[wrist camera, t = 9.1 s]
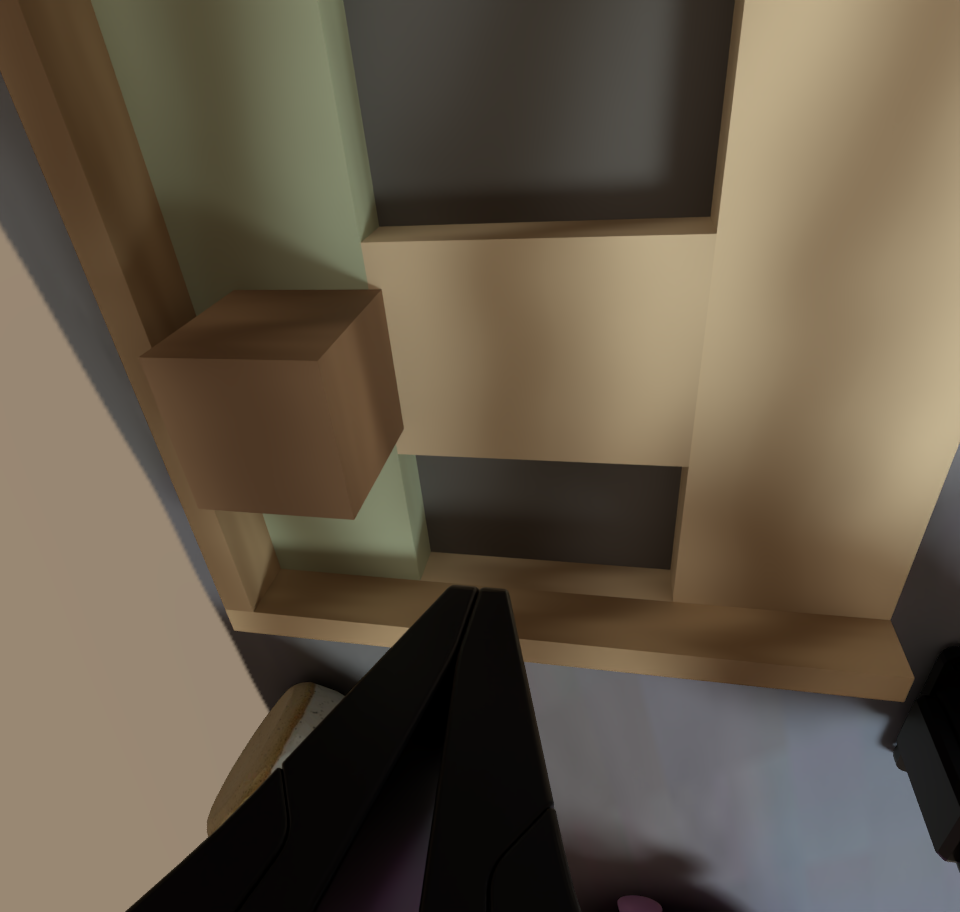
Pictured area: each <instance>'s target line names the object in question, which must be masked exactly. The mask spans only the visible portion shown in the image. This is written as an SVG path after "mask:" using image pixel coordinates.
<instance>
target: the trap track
mask: <svg viewBox="0 0 960 912" xmlns="http://www.w3.org/2000/svg"><path fill="white" fill-rule="evenodd" d="M0 71H1V74H2V76H3V79H4V81H5V83H6V86H7V88H8V91H9V93H10V95H11V98H12V100H13V103H14V105H15V107H16V110H17V112H18V115H19V117H20V119H21V122H22V124H23V126H24V129H25V131H26V134H27V136H28V138H29V141H30V143H31V146H32V148H33V150H34V153H35V155H36V158H37V160H38V162H39V165H40V167H41V170H42V172H43V174H44V177H45V179H46V182H47V184H48V186H49V189H50V191H51V193H52V196H53V198H54V201H55V203H56V205H57V208H58V210H59V213H60V215H61V217H62V220H63V222H64V225H65V227H66V229H67V232H68V234H69V237H70V239H71V241H72V244H73V246H74V248H75V251H76V253H77V256H78V258H79V260H80V263H81V265H82V268H83V270H84V272H85V275H86V277H87V280H88V282H89V284H90V287H91V289H92V292H93V294H94V296H95V299H96V301H97V304H98V306H99V308H100V311H101V313H102V315H103V318H104V320H105V323H106V325H107V327H108V330H109V332H110V335H111V337H112V339H113V342H114V344H115V347H116V349H117V351H118V354H119V356H120V359H121V361H122V363H123V366H124V368H125V370H126V373H127V375H128V378H129V380H130V382H131V385H132V387H133V390H134V392H135V394H136V397H137V399H138V402H139V404H140V406H141V409H142V411H143V414H144V416H145V418H146V421H147V423H148V426H149V428H150V430H151V433H152V435H153V437H154V440H155V442H156V445H157V447H158V449H159V452H160V454H161V457H162V459H163V461H164V464H165V466H166V469H167V471H168V473H169V476H170V478H171V481H172V483H173V485H174V488H175V490H176V492H177V495H178V497H179V500H180V502H181V504H182V507H183V509H184V512H185V514H186V516H187V519H188V521H189V524H190V526H191V528H192V531H193V533H194V536H195V538H196V540H197V543H198V545H199V547H200V550H201V552H202V555H203V557H204V559H205V562H206V564H207V567H208V569H209V571H210V574H211V576H212V579H213V581H214V583H215V586H216V588H217V591H218V593H219V595H220V598H221V600H222V603H223V605H224V607H225V610H226V612H227V614H228V617H229V619H230V622H231V624H232V626H233V629H234V631H243V632H252V633H261V634H271V635H280V636H290V637H299V638H308V639H318V640H327V641H336V642H346V643H355V644H364V645H374V646H383V647H392V646H393V645H394V644H395V643H396V642H397V641H398V640H399V639H400V638H401V637H402V635H403V634H404V633H405V632H406V631H407V630H408V629H409V628H410V627H411V626H412V625H413V624H414V623H415V622H416V621H417V620H418V619H419V617H420V616H421V615H422V614H423V613H424V612H425V611H426V610H427V609H428V608H429V607H430V606H431V605H432V604H433V603H434V602H435V601H436V600H437V598H438V597H439V596H440V595H441V594H442V593H443V592H444V591H445V590H446V589H447V588H448V587H449V586H451V585H466V586H475V587H477V588H479V590H480V589H481V588H483V587H490V588H502V589H506V590H508V592H509V594H510V599H511V603H512V608H513V613H514V618H515V622H516V627H517V632H518V637H519V641H520V646H521V651H522V655H523V660H524V662H533V663H542V664H551V665H561V666H570V667H579V668H589V669H598V670H607V671H617V672H626V673H636V674H645V675H654V676H664V677H673V678H682V679H692V680H701V681H710V682H720V683H729V684H738V685H748V686H757V687H766V688H776V689H785V690H794V691H804V692H813V693H823V694H832V695H841V696H851V697H860V698H869V699H879V700H888V701H897V702H904V701H905V699H906V697H907V694H908V692H909V690H910V688H911V686H912V683H913V681H914V679H915V678H914V675H913V673H912V671H911V668H910V666H909V663H908V661H907V659H906V656H905V654H904V652H903V649H902V647H901V644H900V642H899V640H898V637H897V635H896V632H895V630H894V628H893V625H892V623H891V621H890V620H891V617H892V615H893V612H894V610H895V607H896V604H897V602H898V599H899V597H900V594H901V592H902V589H903V586H904V584H905V581H906V579H907V576H908V574H909V571H910V569H911V566H912V563H913V561H914V558H915V556H916V553H917V551H918V548H919V545H920V543H921V540H922V538H923V535H924V533H925V530H926V527H927V525H928V522H929V520H930V517H931V515H932V512H933V509H934V507H935V504H936V502H937V499H938V497H939V494H940V491H941V489H942V486H943V484H944V481H945V479H946V476H947V473H948V471H949V468H950V466H951V463H952V461H953V458H954V455H955V453H956V450H957V448H958V445H959V443H960V0H0ZM359 289H382V294H383V300H384V307H385V313H386V319H387V325H388V332H389V338H390V344H391V350H392V356H393V363H394V369H395V375H396V381H397V388H398V394H399V400H400V406H401V413H402V419H403V425H404V430H403V432H402V434H401V435H400V437H399V439H398V441H397V443H396V445H395V446H394V448H393V450H392V452H391V454H390V456H389V457H388V459H387V461H386V463H385V465H384V467H383V468H382V470H381V472H380V474H379V476H378V478H377V479H376V481H375V483H374V485H373V487H372V489H371V490H370V492H369V494H368V496H367V498H366V499H365V501H364V503H363V505H362V507H361V509H360V510H359V512H358V514H357V516H356V518H355V520H347V519H333V518H319V517H305V516H291V515H276V514H262V513H248V512H234V511H220V510H206V509H198V507H197V504H196V502H195V499H194V497H193V494H192V492H191V489H190V487H189V484H188V482H187V479H186V477H185V474H184V472H183V469H182V467H181V464H180V461H179V459H178V456H177V454H176V451H175V449H174V446H173V444H172V441H171V439H170V436H169V434H168V431H167V429H166V426H165V424H164V421H163V419H162V416H161V414H160V411H159V408H158V406H157V403H156V401H155V398H154V396H153V393H152V391H151V388H150V386H149V383H148V381H147V378H146V376H145V373H144V371H143V368H142V366H141V363H140V361H139V358H138V357H140V356H141V355H142V354H144V353H145V352H147V351H148V350H150V349H151V348H152V347H154V346H155V345H157V344H158V343H160V342H161V341H162V340H164V339H165V338H167V337H168V336H169V335H171V334H172V333H174V332H175V331H177V330H178V329H179V328H181V327H182V326H184V325H185V324H186V323H188V322H189V321H191V320H192V319H194V318H195V317H196V316H198V315H199V314H201V313H202V312H204V311H205V310H206V309H208V308H209V307H211V306H212V305H213V304H215V303H216V302H218V301H219V300H221V299H222V298H223V297H225V296H226V295H228V294H229V293H231V292H232V291H233V290H359Z"/></svg>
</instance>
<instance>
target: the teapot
mask: <svg viewBox="0 0 960 912" xmlns="http://www.w3.org/2000/svg"><path fill="white" fill-rule="evenodd" d="M617 904H618V908H619V912H662V907H661V905H660V904H659V903H658V902H656V901H654V900H652V899H650V898H647V897H643V896H637V895H629V896H623V897H621V898H619V899H618V901H617Z"/></svg>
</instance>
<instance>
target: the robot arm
mask: <svg viewBox="0 0 960 912" xmlns="http://www.w3.org/2000/svg"><path fill="white" fill-rule="evenodd" d="M896 741H897V746H896V748H895V750H894V752H893V757H894V760H895V762H896V765H897V767H898V768H899V769H900V770H902V771H906V772H907V773H908V776H909V779H910V782H911V784H912V787H913V790H914V793H915V796H916V798H917V801H918V804H919V807H920V810H921V812H922V815H923V818H924V821H925V824H926V826H927V829H928V832H929V835H930V838H931V840H932V843H933V846H934V849H935V851H936V853H937V854H938V855H939V856H940V857H941V858H942V859H943V860H944V861H947V862H954V863H956V864H957V867H958V869H959V872H960V646H954V647H950V648H947V649H945V650H943V651H942V652H941V653H940V654H939V656H938V658H937V660H936V663H935V665H934V667H933V669H932V671H931V673H930V675H929V678H928V680H927V682H926V684H925V686H924V688H923V690H922V692H921V695H920V696H919V697H918V698H917V699H916V700H915V701H914V703H913V705H912V708H911V710H910V712H909V714H908V716H907V718H906V720H905V723H904V725H903V727H902V729H901V731H900V733H899V736H898V738H897V740H896ZM126 912H581V910H580V907H579V903H578V900H577V897H576V894H575V891H574V887H573V883H572V879H571V875H570V871H569V867H568V863H567V859H566V855H565V851H564V847H563V843H562V838H561V833H560V829H559V824H558V819H557V814H556V811H555V809H554V802H553V797H552V792H551V788H550V783H549V778H548V773H547V769H546V764H545V759H544V755H543V750H542V745H541V740H540V736H539V731H538V726H537V721H536V717H535V712H534V707H533V703H532V698H531V693H530V688H529V684H528V679H527V674H526V670H525V665H524V660H523V655H522V651H521V646H520V641H519V637H518V632H517V627H516V622H515V618H514V613H513V608H512V603H511V599H510V594H509V592H508V590H506V589H502V588H490V587H483V588H481V589H480V590H479V588H477V587H475V586H466V585H451V586H449V587H448V588H447V589H446V590H445V591H444V592H443V593H442V594H441V595H440V596H439V597H438V598H437V600H436V601H435V602H434V603H433V604H432V605H431V606H430V607H429V608H428V609H427V610H426V611H425V612H424V613H423V614H422V615H421V616H420V617H419V619H418V620H417V621H416V622H415V623H414V624H413V625H412V626H411V627H410V628H409V629H408V630H407V631H406V632H405V633H404V634H403V635H402V637H401V638H400V639H399V640H398V641H397V642H396V643H395V644H394V645H393V646H392V647H391V648H390V649H389V650H388V651H387V652H386V653H385V655H384V656H383V657H382V658H381V659H380V660H379V661H378V662H377V663H376V664H375V665H374V666H373V667H372V668H371V669H370V670H369V671H368V672H367V674H366V675H365V676H364V677H363V678H362V679H361V680H360V681H359V682H358V683H357V684H356V685H355V686H354V687H353V688H352V689H351V690H350V692H349V693H348V694H347V695H346V696H345V697H344V698H343V699H342V700H341V701H340V702H339V703H338V704H337V705H336V706H335V707H334V708H333V709H332V711H331V712H330V713H329V714H328V715H327V716H326V717H325V718H324V719H323V720H322V721H321V722H320V723H319V724H318V725H317V726H316V727H315V729H314V730H313V731H312V732H311V733H310V734H309V735H308V736H307V737H306V738H305V739H304V740H303V741H302V742H301V743H300V744H299V745H298V746H297V748H296V749H295V750H294V751H293V752H292V753H291V754H290V755H289V756H288V757H287V758H286V759H285V760H284V761H283V762H282V768H276V769H275V770H274V771H273V773H272V774H271V775H270V776H269V777H268V778H267V779H266V780H265V781H264V782H263V783H262V784H261V785H260V786H259V787H258V788H257V789H256V791H255V792H254V793H253V794H252V795H251V796H250V797H249V798H248V799H247V800H246V801H245V802H244V803H243V804H242V805H241V806H240V807H239V808H238V809H237V810H236V811H235V812H234V813H233V814H232V815H231V816H230V817H229V818H228V819H227V820H226V821H225V822H224V823H223V824H222V825H221V826H220V827H219V828H218V829H216V830H215V831H214V832H213V833H212V834H211V835H210V836H209V837H208V838H207V839H206V840H205V841H203V842H202V843H201V844H200V845H199V846H198V847H197V848H196V849H195V850H194V851H193V852H192V853H191V854H189V855H188V856H187V857H186V858H185V859H184V860H183V861H182V862H181V863H180V864H179V865H177V866H176V867H175V868H174V869H173V870H172V871H171V872H170V873H168V874H167V875H166V876H165V877H164V878H163V879H162V880H161V881H159V882H158V883H157V884H156V885H155V886H154V887H153V888H151V889H150V890H149V891H148V892H147V893H146V894H145V895H143V896H142V897H141V898H140V899H139V900H138V901H137V902H136V903H135V904H134V905H132V906H131V907H130V908H129V909H128V910H127V911H126Z"/></svg>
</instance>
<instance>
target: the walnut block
mask: <svg viewBox="0 0 960 912" xmlns="http://www.w3.org/2000/svg"><path fill="white" fill-rule="evenodd" d="M138 358H139V361H140V363H141V366H142V368H143V371H144V373H145V376H146V378H147V381H148V383H149V386H150V388H151V391H152V393H153V396H154V398H155V401H156V403H157V406H158V408H159V411H160V414H161V416H162V419H163V421H164V424H165V426H166V429H167V431H168V434H169V436H170V439H171V441H172V444H173V446H174V449H175V451H176V454H177V456H178V459H179V461H180V464H181V467H182V469H183V472H184V474H185V477H186V479H187V482H188V484H189V487H190V489H191V492H192V494H193V497H194V499H195V502H196V504H197V507H198V509H206V510H220V511H234V512H248V513H262V514H276V515H291V516H305V517H319V518H333V519H347V520H355V518H356V516H357V514H358V512H359V510H360V509H361V507H362V505H363V503H364V501H365V499H366V498H367V496H368V494H369V492H370V490H371V489H372V487H373V485H374V483H375V481H376V479H377V478H378V476H379V474H380V472H381V470H382V468H383V467H384V465H385V463H386V461H387V459H388V457H389V456H390V454H391V452H392V450H393V448H394V446H395V445H396V443H397V441H398V439H399V437H400V435H401V434H402V432H403V430H404V425H403V419H402V413H401V406H400V400H399V394H398V388H397V381H396V375H395V369H394V363H393V356H392V350H391V344H390V338H389V332H388V325H387V319H386V313H385V307H384V300H383V294H382V289H359V290H233V291H232V292H231V293H229V294H228V295H226V296H225V297H223V298H222V299H221V300H219V301H218V302H216V303H215V304H213V305H212V306H211V307H209V308H208V309H206V310H205V311H204V312H202V313H201V314H199V315H198V316H196V317H195V318H194V319H192V320H191V321H189V322H188V323H186V324H185V325H184V326H182V327H181V328H179V329H178V330H177V331H175V332H174V333H172V334H171V335H169V336H168V337H167V338H165V339H164V340H162V341H161V342H160V343H158V344H157V345H155V346H154V347H152V348H151V349H150V350H148V351H147V352H145V353H144V354H142V355H141V356H140V357H138Z"/></svg>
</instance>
